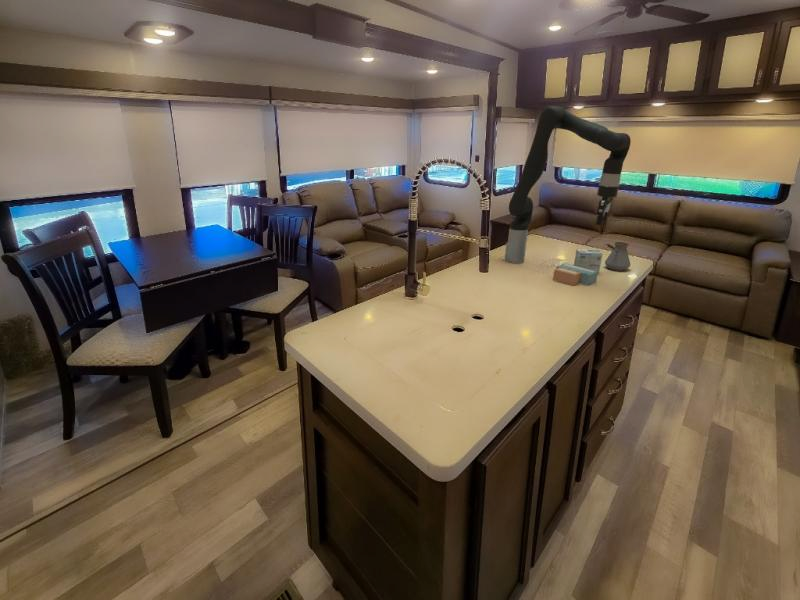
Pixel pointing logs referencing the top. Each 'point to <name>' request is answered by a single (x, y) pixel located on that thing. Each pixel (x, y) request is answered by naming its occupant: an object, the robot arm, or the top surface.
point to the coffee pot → (618, 257)
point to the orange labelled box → (566, 276)
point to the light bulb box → (588, 259)
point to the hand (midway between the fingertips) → (600, 223)
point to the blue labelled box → (582, 273)
